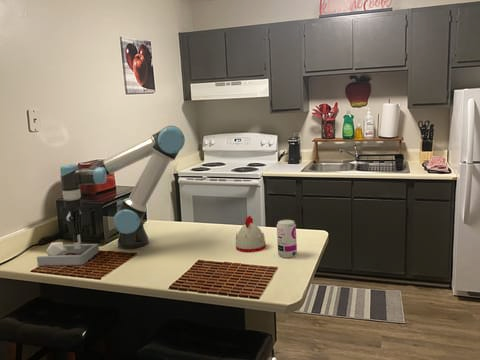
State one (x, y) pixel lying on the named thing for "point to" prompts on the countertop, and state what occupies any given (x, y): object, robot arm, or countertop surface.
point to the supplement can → (286, 238)
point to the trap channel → (70, 256)
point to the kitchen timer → (250, 237)
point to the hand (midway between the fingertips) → (77, 248)
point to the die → (56, 249)
